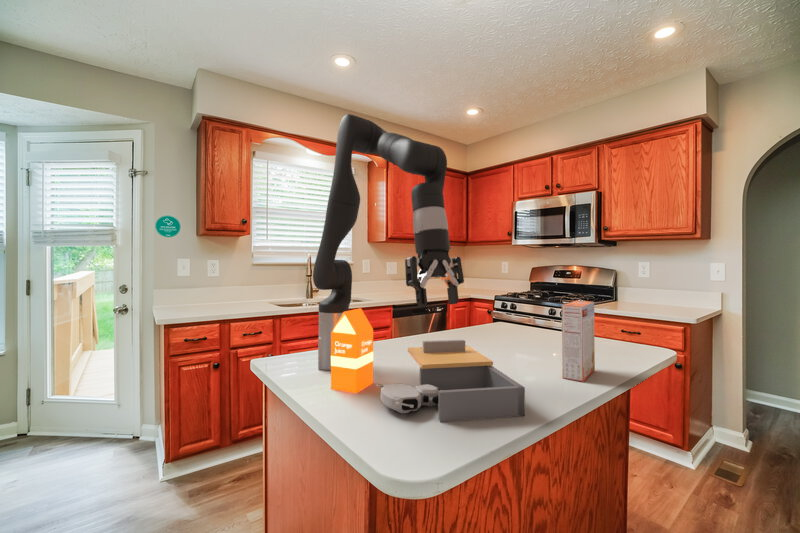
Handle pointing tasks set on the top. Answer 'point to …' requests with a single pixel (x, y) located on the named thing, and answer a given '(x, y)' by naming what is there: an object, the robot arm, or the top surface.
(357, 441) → the top surface
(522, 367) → the top surface
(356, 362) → the orange juice
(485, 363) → the lid
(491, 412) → the box
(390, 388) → the robot toy
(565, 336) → the cracker box
